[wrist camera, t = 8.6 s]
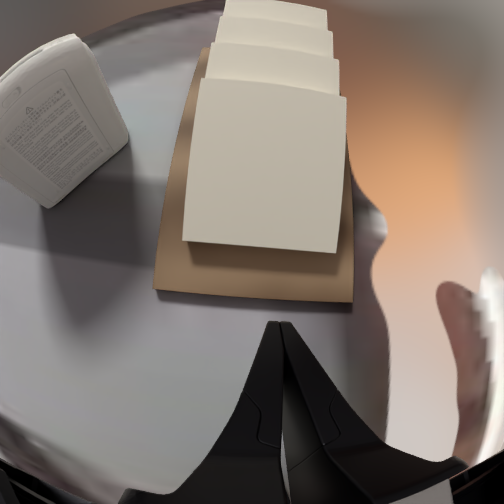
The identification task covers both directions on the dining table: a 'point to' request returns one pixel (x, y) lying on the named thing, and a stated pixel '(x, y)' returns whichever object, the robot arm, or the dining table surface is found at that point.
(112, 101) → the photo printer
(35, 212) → the dining table surface
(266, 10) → the domino
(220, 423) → the dining table surface
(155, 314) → the dining table surface
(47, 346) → the dining table surface
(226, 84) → the domino
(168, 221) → the walnut board
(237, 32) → the domino
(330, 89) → the domino
